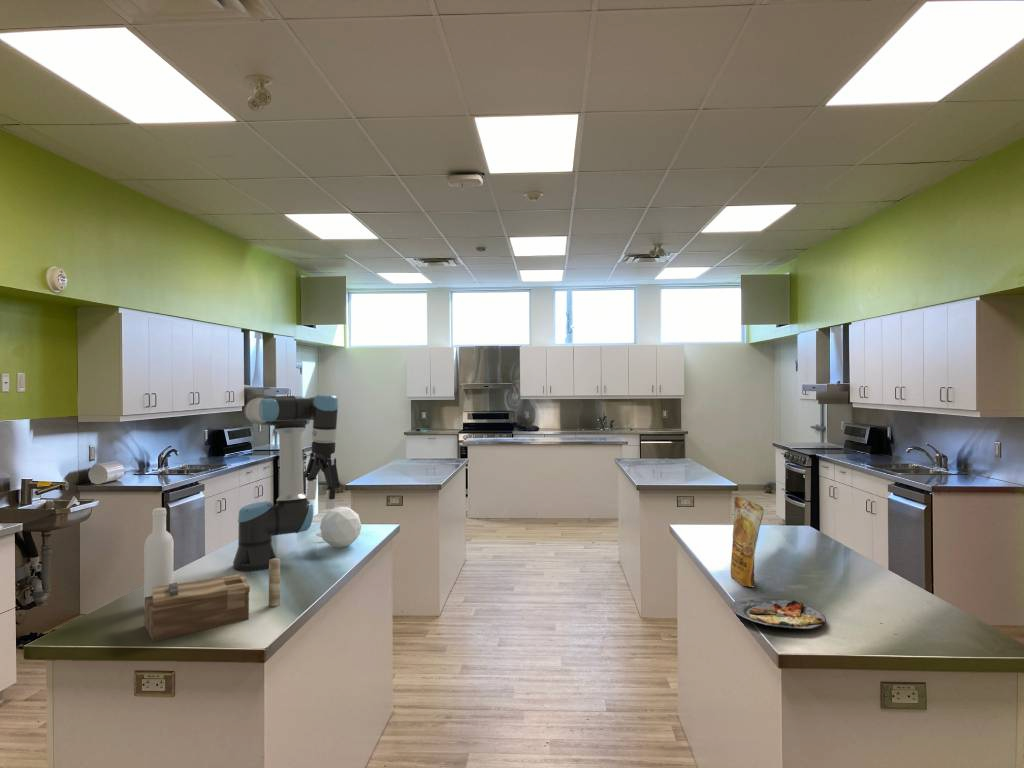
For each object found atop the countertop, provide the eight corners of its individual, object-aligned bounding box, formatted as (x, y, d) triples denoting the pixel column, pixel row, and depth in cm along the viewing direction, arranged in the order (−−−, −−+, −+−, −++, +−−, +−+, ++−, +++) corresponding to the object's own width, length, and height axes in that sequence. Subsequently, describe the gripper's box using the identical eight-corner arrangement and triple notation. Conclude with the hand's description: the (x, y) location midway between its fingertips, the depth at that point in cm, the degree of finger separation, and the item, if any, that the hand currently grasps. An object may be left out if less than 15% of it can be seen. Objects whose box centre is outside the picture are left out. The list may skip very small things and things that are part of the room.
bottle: (174, 607, 181) (175, 509, 182) (144, 612, 177) (145, 512, 177) (172, 599, 188) (172, 505, 188) (142, 604, 183) (143, 508, 184)
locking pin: (267, 605, 183) (267, 559, 183) (277, 602, 185) (277, 557, 186) (271, 607, 181) (271, 561, 181) (281, 605, 183) (281, 559, 183)
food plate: (813, 608, 181) (813, 596, 181) (837, 639, 158) (837, 626, 158) (727, 601, 186) (727, 590, 186) (738, 631, 163) (738, 618, 164)
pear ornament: (358, 501, 246) (370, 517, 271) (304, 503, 245) (321, 519, 270) (355, 541, 239) (368, 554, 264) (299, 543, 238) (317, 556, 263)
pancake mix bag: (743, 572, 215) (742, 495, 216) (766, 590, 196) (765, 505, 197) (724, 572, 215) (724, 495, 216) (745, 590, 196) (745, 505, 197)
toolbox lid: (152, 592, 171) (152, 583, 171) (242, 578, 184) (242, 570, 184) (153, 607, 159) (153, 597, 159) (249, 591, 172) (249, 582, 172)
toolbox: (144, 625, 167) (144, 597, 167) (234, 605, 182) (235, 579, 183) (153, 641, 156) (153, 611, 156) (248, 619, 172) (248, 591, 172)
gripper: (296, 436, 203) (293, 497, 204) (331, 447, 185) (327, 514, 186) (317, 435, 208) (313, 494, 209) (352, 446, 191) (348, 511, 192)
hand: (320, 504), depth 198 cm, fingers open, 13 cm apart
